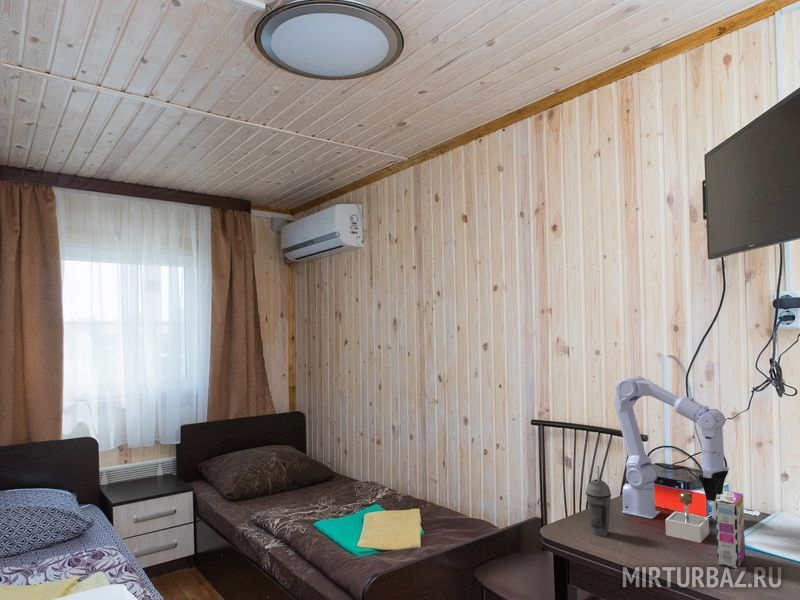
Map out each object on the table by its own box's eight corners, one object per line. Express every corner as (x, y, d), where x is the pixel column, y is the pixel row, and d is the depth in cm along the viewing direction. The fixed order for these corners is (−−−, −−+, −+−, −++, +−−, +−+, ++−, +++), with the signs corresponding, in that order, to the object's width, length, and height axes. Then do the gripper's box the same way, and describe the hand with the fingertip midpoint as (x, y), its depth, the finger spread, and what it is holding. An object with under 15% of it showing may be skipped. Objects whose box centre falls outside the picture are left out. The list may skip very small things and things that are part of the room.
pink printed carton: (740, 570, 139) (736, 503, 140) (717, 565, 142) (714, 500, 143) (746, 555, 148) (743, 492, 148) (725, 551, 151) (722, 489, 152)
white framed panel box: (666, 535, 163) (665, 519, 163) (677, 524, 171) (677, 509, 171) (700, 542, 157) (699, 526, 157) (711, 531, 165) (710, 515, 165)
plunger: (670, 522, 163) (668, 494, 164) (677, 515, 168) (676, 488, 169) (697, 527, 158) (695, 499, 159) (704, 520, 164) (702, 493, 164)
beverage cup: (609, 528, 169) (606, 462, 170) (616, 537, 162) (613, 468, 163) (584, 528, 170) (582, 462, 171) (590, 537, 162) (587, 468, 163)
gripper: (721, 457, 158) (723, 506, 157) (733, 448, 168) (735, 493, 168) (694, 454, 162) (696, 501, 162) (707, 445, 173) (709, 489, 173)
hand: (714, 497), depth 165 cm, fingers open, 7 cm apart
